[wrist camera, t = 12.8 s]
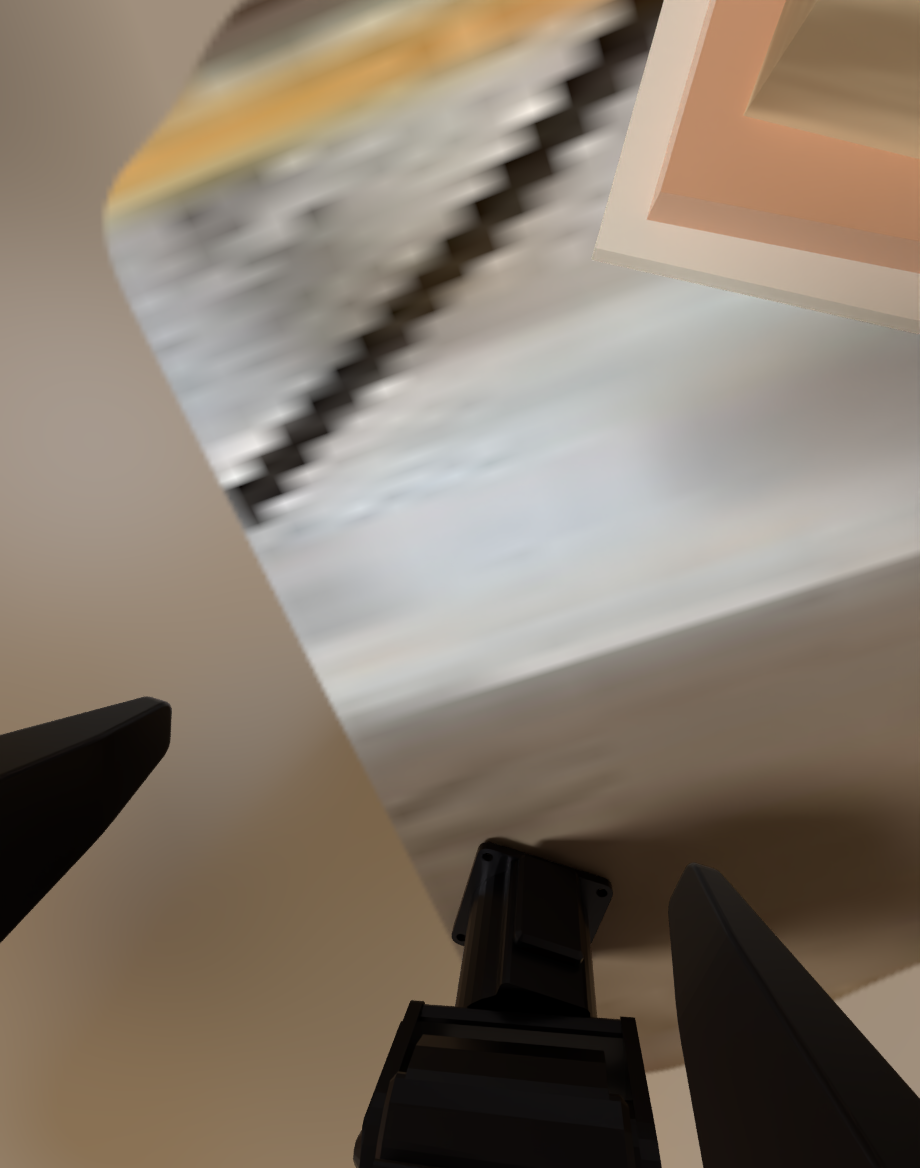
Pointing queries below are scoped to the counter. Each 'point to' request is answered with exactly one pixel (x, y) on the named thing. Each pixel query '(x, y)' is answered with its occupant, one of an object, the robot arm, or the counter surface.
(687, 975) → the robot arm
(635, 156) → the white slab
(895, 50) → the maple block
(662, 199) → the terracotta tile
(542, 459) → the counter surface
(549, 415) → the counter surface
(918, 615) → the counter surface
